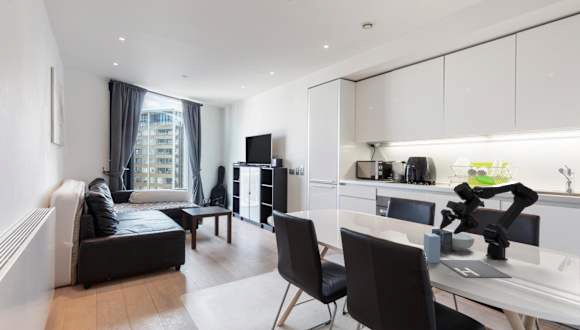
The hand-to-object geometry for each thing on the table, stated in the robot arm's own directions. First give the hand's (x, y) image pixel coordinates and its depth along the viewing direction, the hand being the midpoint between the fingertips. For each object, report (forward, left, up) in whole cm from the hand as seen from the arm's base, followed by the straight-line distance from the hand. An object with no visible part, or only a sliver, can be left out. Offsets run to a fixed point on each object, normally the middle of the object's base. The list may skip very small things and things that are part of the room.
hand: (447, 231), depth 132 cm
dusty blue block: (+8, +1, -14) cm, 16 cm away
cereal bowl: (-16, -19, -14) cm, 28 cm away
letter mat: (-5, +10, -14) cm, 18 cm away
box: (-5, -14, -14) cm, 20 cm away
